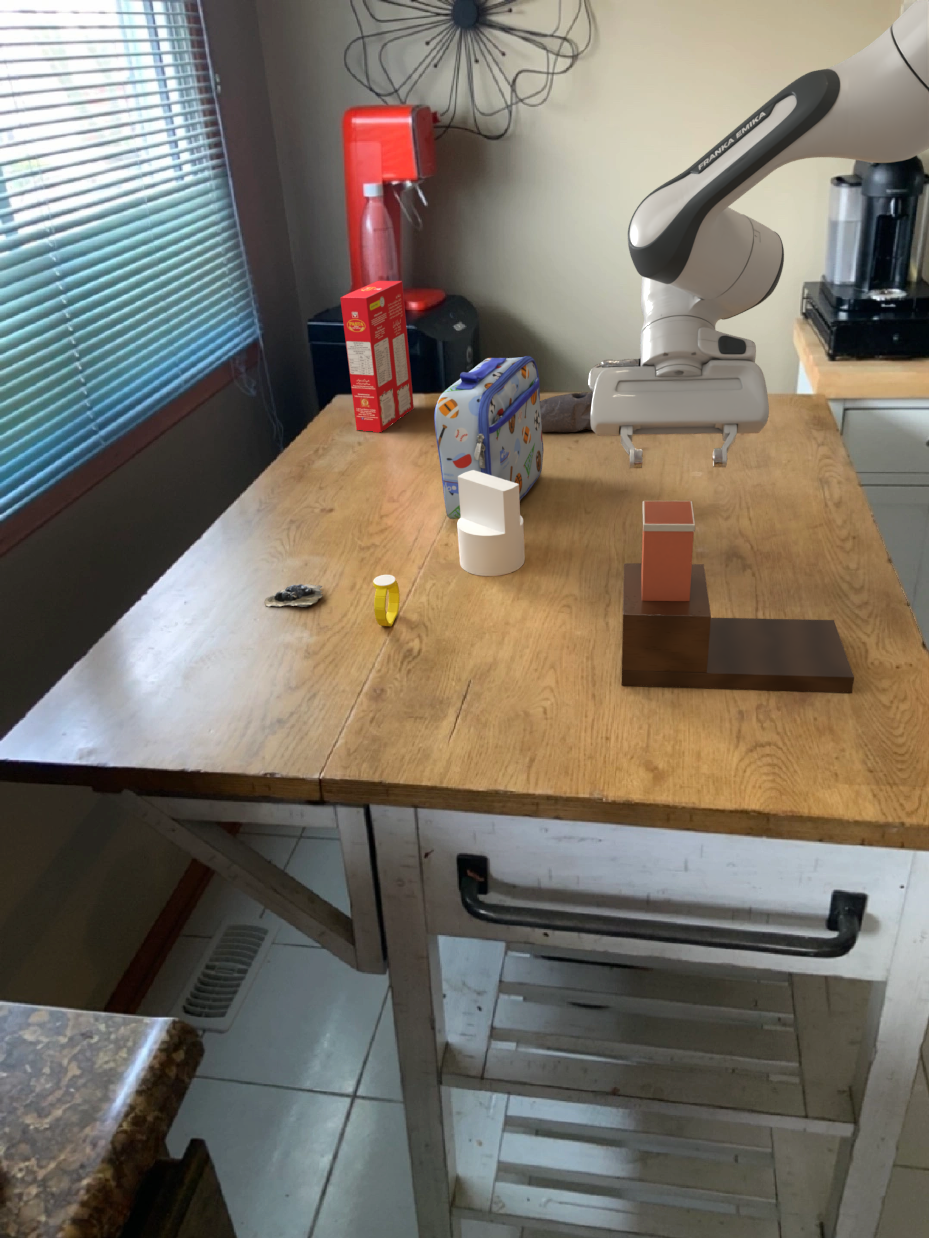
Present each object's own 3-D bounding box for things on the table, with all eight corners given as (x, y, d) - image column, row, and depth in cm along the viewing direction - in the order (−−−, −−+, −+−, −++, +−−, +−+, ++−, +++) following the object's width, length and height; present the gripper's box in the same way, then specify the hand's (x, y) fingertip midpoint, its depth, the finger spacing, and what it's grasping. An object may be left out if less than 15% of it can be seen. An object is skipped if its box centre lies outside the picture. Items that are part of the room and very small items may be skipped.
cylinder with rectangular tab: (538, 558, 134) (535, 477, 128) (493, 582, 129) (488, 499, 123) (491, 541, 140) (487, 463, 134) (446, 563, 135) (440, 483, 129)
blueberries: (324, 608, 126) (322, 595, 125) (262, 615, 125) (259, 602, 124) (323, 584, 132) (321, 572, 131) (264, 591, 131) (262, 579, 130)
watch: (386, 608, 125) (381, 567, 122) (406, 610, 124) (402, 568, 121) (371, 632, 120) (366, 589, 117) (393, 633, 119) (388, 591, 116)
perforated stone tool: (525, 437, 178) (524, 400, 174) (525, 428, 182) (524, 392, 179) (607, 434, 177) (608, 396, 173) (605, 424, 181) (605, 388, 178)
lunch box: (501, 540, 140) (493, 391, 129) (434, 534, 143) (421, 388, 132) (550, 472, 162) (548, 339, 151) (491, 468, 166) (485, 337, 155)
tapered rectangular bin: (687, 575, 108) (692, 500, 104) (690, 602, 103) (695, 524, 99) (640, 574, 109) (642, 500, 105) (640, 601, 104) (643, 524, 99)
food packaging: (390, 407, 199) (377, 280, 186) (413, 409, 197) (402, 281, 185) (356, 430, 187) (340, 297, 175) (380, 432, 185) (366, 298, 173)
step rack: (831, 634, 112) (841, 565, 108) (851, 692, 102) (863, 619, 98) (622, 630, 116) (623, 563, 112) (621, 685, 106) (622, 614, 102)
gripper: (588, 346, 114) (585, 455, 110) (769, 341, 110) (772, 453, 107) (590, 373, 120) (587, 477, 116) (761, 369, 116) (764, 476, 113)
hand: (677, 466), depth 111 cm, fingers open, 8 cm apart
